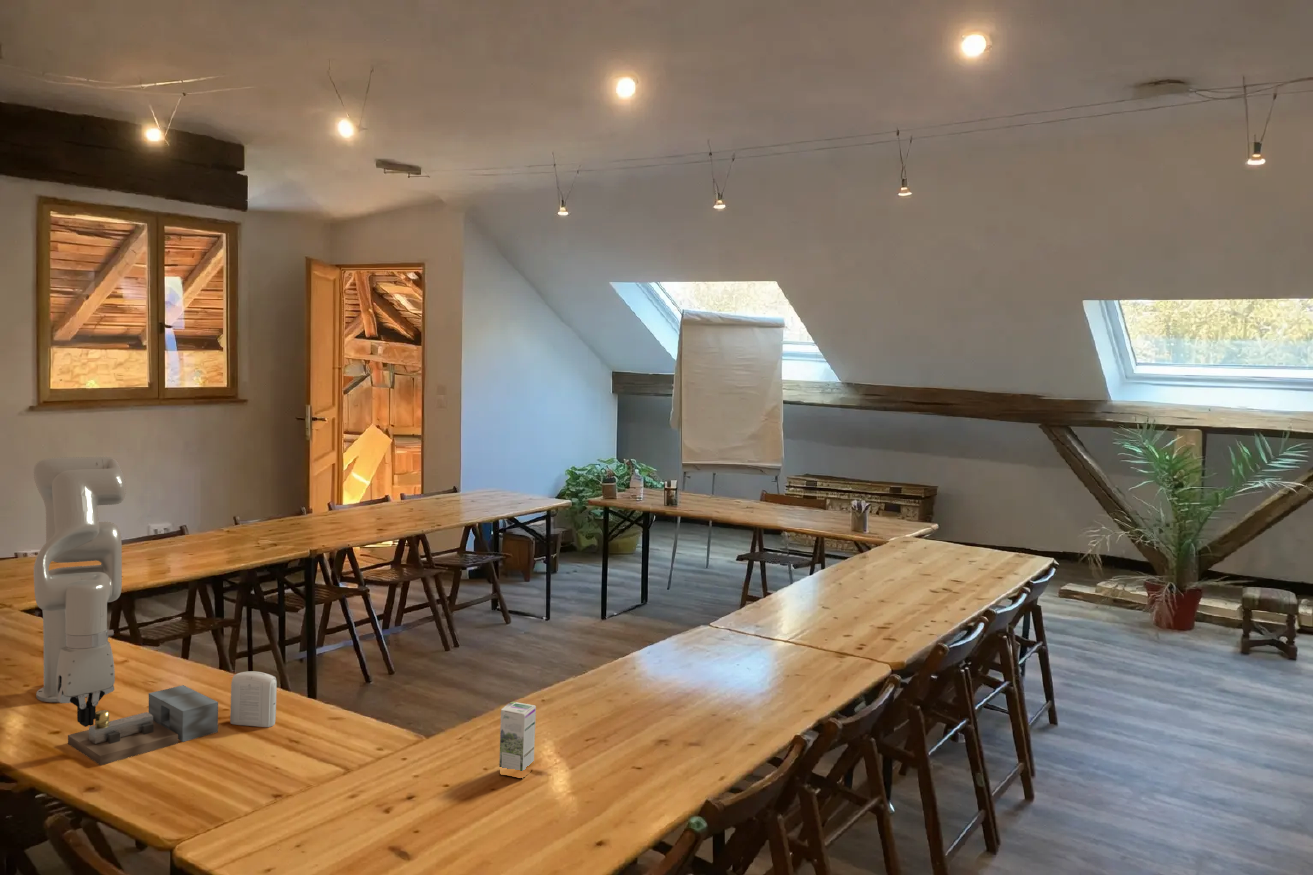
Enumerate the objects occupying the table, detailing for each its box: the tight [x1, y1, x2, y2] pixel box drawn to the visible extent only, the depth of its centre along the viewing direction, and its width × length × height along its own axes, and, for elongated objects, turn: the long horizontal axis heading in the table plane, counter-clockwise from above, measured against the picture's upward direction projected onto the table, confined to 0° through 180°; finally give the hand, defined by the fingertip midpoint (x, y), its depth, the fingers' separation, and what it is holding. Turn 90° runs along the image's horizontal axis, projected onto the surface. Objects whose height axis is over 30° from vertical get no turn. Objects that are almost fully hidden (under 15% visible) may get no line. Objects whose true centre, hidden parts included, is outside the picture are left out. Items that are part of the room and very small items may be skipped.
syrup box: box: [498, 701, 537, 771], centre depth 204 cm, size 6×6×14 cm
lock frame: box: [67, 684, 219, 766], centre depth 214 cm, size 25×16×7 cm, turn 142°
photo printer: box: [229, 670, 278, 728], centre depth 224 cm, size 10×4×12 cm, turn 86°
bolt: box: [88, 709, 153, 744], centre depth 210 cm, size 12×3×6 cm, turn 142°
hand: (86, 724), depth 204 cm, fingers closed
